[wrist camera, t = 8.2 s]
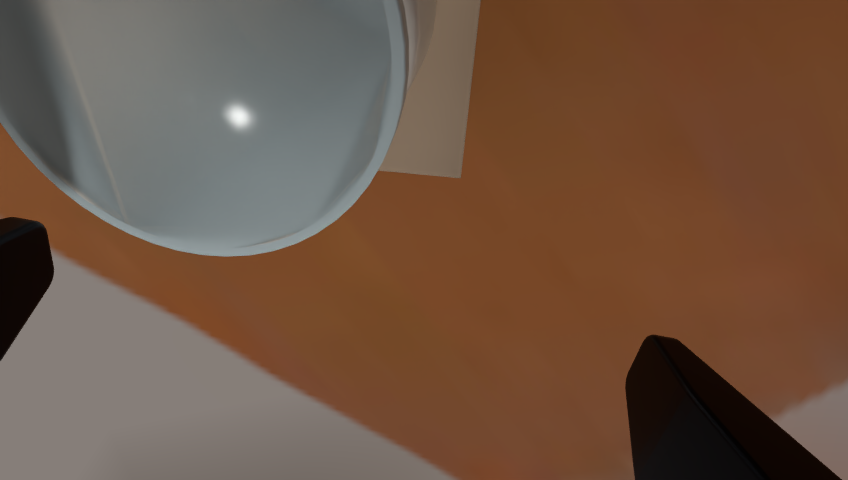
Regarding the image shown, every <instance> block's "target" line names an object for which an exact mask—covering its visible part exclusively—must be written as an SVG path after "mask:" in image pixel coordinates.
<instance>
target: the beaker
mask: <svg viewBox="0 0 848 480" xmlns="http://www.w3.org/2000/svg"><path fill="white" fill-rule="evenodd" d="M435 14H436V0H0V123H1V124H2V125H3V127H4V128H5V129H6V131H7V132H8V133H9V135H10V136H11V138H12V139H13V140H14V142H15V143H16V144H17V146H18V147H19V148H20V149H21V150H22V151H23V152H24V153H25V155H26V156H27V157H28V158H29V159H30V160H31V161H32V162H33V164H34V165H35V166H36V167H37V168H38V169H39V170H40V171H41V172H42V173H43V174H44V175H45V176H46V177H47V178H49V179H50V180H51V181H52V182H53V183H54V184H55V185H56V186H57V187H58V188H59V189H61V190H62V191H63V192H64V193H66V194H67V195H68V196H69V197H71V198H72V199H73V200H75V201H76V202H77V203H78V204H80V205H81V206H82V207H84V208H85V209H87V210H89V211H90V212H92V213H93V214H95V215H96V216H98V217H99V218H101V219H102V220H104V221H106V222H108V223H110V224H111V225H113V226H115V227H117V228H119V229H121V230H123V231H125V232H127V233H129V234H131V235H134V236H136V237H139V238H141V239H144V240H146V241H148V242H151V243H154V244H157V245H160V246H164V247H167V248H171V249H174V250H178V251H183V252H189V253H194V254H200V255H211V256H245V255H254V254H259V253H265V252H271V251H275V250H278V249H281V248H284V247H287V246H290V245H293V244H296V243H298V242H300V241H302V240H304V239H306V238H308V237H311V236H313V235H315V234H317V233H318V232H320V231H321V230H323V229H324V228H325V227H327V226H328V225H330V224H331V223H333V222H334V221H336V220H337V219H338V218H339V217H340V216H341V215H342V214H343V213H345V212H346V211H347V210H348V209H349V208H350V207H351V206H352V205H353V204H354V203H355V202H356V201H357V199H358V198H359V197H360V196H361V194H362V193H363V192H364V191H365V189H366V188H367V187H368V186H369V184H370V183H371V181H372V179H373V177H374V176H375V174H376V172H377V171H378V169H379V167H380V166H381V164H382V162H383V160H384V158H385V156H386V154H387V152H388V150H389V147H390V145H391V143H392V140H393V138H394V135H395V133H396V130H397V128H398V126H399V122H400V118H401V114H402V111H403V107H404V103H405V99H406V94H407V92H408V91H409V89H410V87H411V85H412V83H413V81H414V79H415V77H416V75H417V74H418V72H419V70H420V68H421V66H422V64H423V61H424V59H425V56H426V54H427V52H428V49H429V45H430V42H431V38H432V34H433V29H434V22H435Z"/></svg>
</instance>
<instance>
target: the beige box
mask: <svg viewBox="0 0 848 480" xmlns="http://www.w3.org/2000/svg"><path fill="white" fill-rule="evenodd" d="M480 1H481V0H436V14H435V22H434V29H433V34H432V38H431V42H430V45H429V49H428V52H427V54H426V56H425V59H424V61H423V64H422V66H421V68H420V70H419V72H418V74H417V75H416V77H415V79H414V81H413V83H412V85H411V87H410V89H409V91H408V92H407V94H406V99H405V103H404V107H403V111H402V114H401V118H400V122H399V126H398V128H397V130H396V133H395V135H394V138H393V140H392V143H391V145H390V147H389V150H388V152H387V154H386V156H385V158H384V160H383V162H382V164H381V166H380V167H379V169H378V170H379V171H390V172H400V173H411V174H422V175H432V176H443V177H454V178H461V170H462V161H463V152H464V143H465V134H466V126H467V117H468V108H469V99H470V90H471V81H472V72H473V63H474V54H475V45H476V37H477V28H478V19H479V10H480Z"/></svg>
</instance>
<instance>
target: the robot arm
mask: <svg viewBox="0 0 848 480" xmlns="http://www.w3.org/2000/svg"><path fill="white" fill-rule="evenodd" d="M53 275H54V266H53V261H52V256H51V250H50V245H49V240H48V234H47V231H46V228H45V227H44V225H43V224H41V223H40V222H38V221H33V220H28V219H22V218H17V217H8V218H4V219H0V361H1V359H2V358H3V357H4V355H5V354H6V352H7V351H8V349H9V348H10V346H11V344H12V343H13V341H14V340H15V338H16V337H17V335H18V333H19V332H20V331H21V329H22V328H23V326H24V324H25V323H26V321H27V320H28V318H29V317H30V315H31V314H32V312H33V311H34V309H35V308H36V306H37V305H38V303H39V301H40V300H41V298H42V297H43V295H44V294H45V292H46V291H47V289H48V288H49V286H50V284H51V282H52V279H53ZM625 389H626V399H627V409H628V419H629V428H630V438H631V448H632V458H633V467H634V475H635V480H842V479H840V478H839V477H838V476H837V475H836V474H835V473H833V472H832V471H831V470H830V469H829V468H828V467H826V466H825V465H824V464H823V463H822V462H820V461H819V460H818V459H817V458H816V457H815V456H813V455H812V454H811V453H810V452H809V451H808V450H806V449H805V448H804V447H803V446H802V445H801V444H799V443H798V442H797V441H796V440H795V439H794V438H792V437H791V436H790V435H789V434H788V433H787V432H785V431H784V430H783V429H782V428H781V427H779V426H778V425H777V424H776V423H775V422H774V421H773V420H771V419H770V418H769V417H768V416H767V415H765V414H764V413H763V412H762V411H761V410H760V409H758V408H757V407H756V406H755V405H754V404H753V403H751V402H750V401H749V400H748V399H747V398H746V397H744V396H743V395H742V394H741V393H740V392H739V391H737V390H736V389H735V388H734V387H733V386H732V385H730V384H729V383H728V382H727V381H726V380H724V379H723V378H722V377H721V376H720V375H719V374H717V373H716V372H715V371H714V370H713V369H712V368H710V367H709V366H708V365H707V364H706V363H705V362H703V361H702V360H701V359H700V358H699V357H698V356H696V355H695V354H694V353H693V352H692V351H691V350H689V349H688V348H687V347H686V346H685V345H684V344H682V343H681V342H680V341H679V340H677V339H674V338H670V337H664V336H659V335H650V336H647V337H646V338H645V340H644V341H643V343H642V345H641V347H640V349H639V351H638V353H637V355H636V357H635V359H634V361H633V364H632V366H631V368H630V370H629V372H628V374H627V378H626V386H625Z"/></svg>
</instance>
